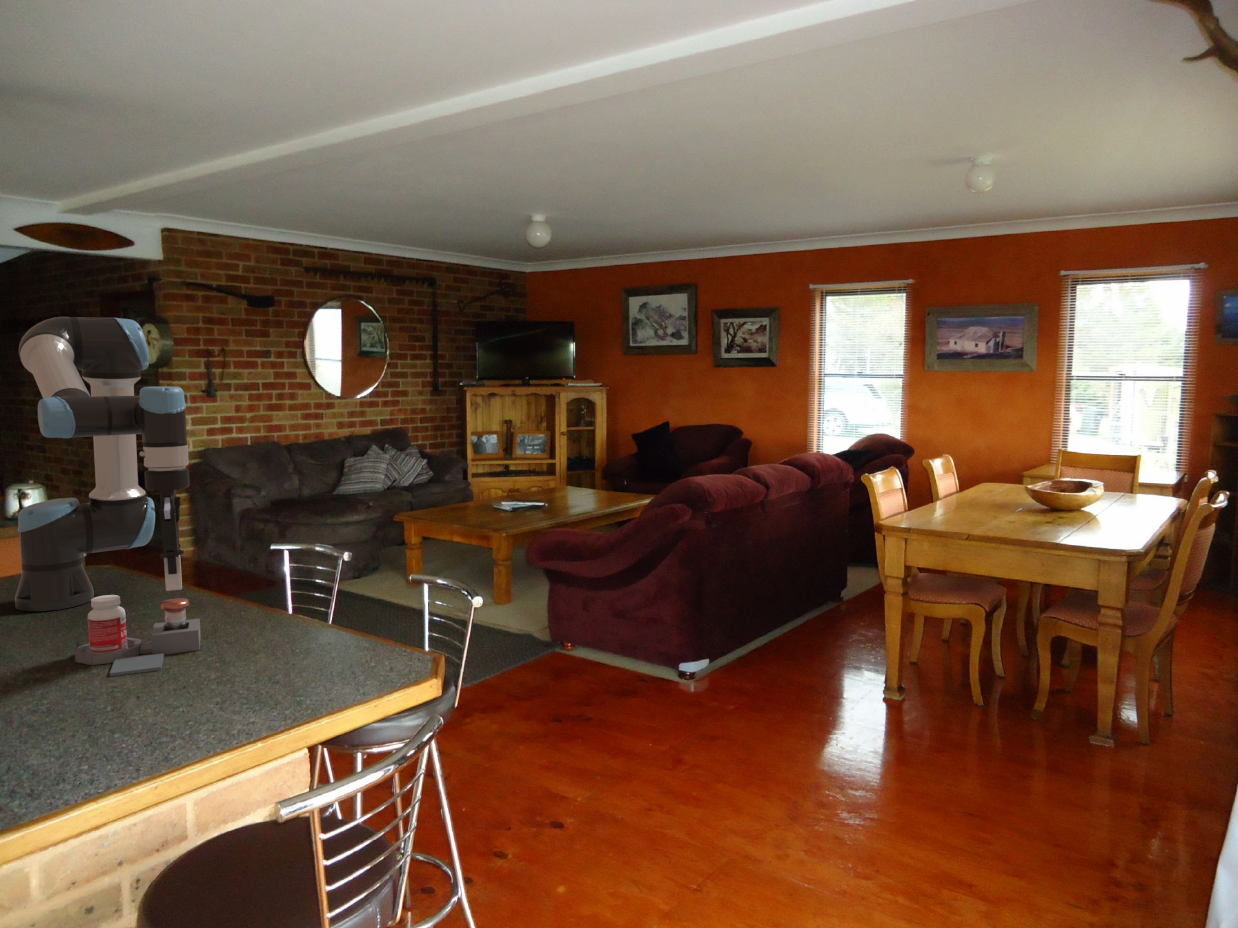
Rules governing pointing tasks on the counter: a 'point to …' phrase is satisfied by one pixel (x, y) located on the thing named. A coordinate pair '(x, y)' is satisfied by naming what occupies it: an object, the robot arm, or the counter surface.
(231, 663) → the counter surface
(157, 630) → the housing
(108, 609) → the pill bottle
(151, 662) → the mat
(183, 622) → the plunger
